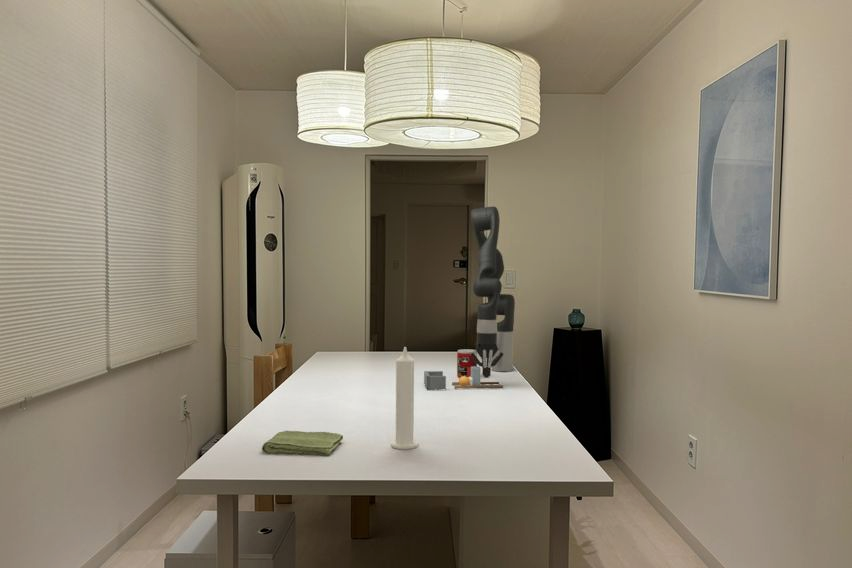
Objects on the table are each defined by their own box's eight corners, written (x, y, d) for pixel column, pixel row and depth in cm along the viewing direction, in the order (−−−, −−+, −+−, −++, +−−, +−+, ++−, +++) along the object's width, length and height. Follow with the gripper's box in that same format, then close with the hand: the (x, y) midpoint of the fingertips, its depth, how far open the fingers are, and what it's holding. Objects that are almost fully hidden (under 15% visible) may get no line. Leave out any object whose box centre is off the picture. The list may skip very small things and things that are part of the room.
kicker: (468, 384, 228) (468, 366, 228) (478, 384, 228) (478, 366, 228) (470, 387, 223) (470, 368, 223) (480, 387, 223) (480, 368, 223)
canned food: (453, 376, 246) (454, 349, 246) (470, 375, 250) (471, 348, 249) (462, 379, 239) (463, 352, 239) (480, 378, 243) (480, 351, 242)
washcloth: (332, 458, 142) (332, 445, 142) (259, 455, 144) (259, 442, 144) (344, 442, 155) (344, 429, 155) (277, 440, 157) (277, 427, 157)
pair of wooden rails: (452, 384, 229) (452, 382, 229) (498, 384, 230) (498, 381, 230) (454, 389, 221) (454, 386, 221) (503, 388, 222) (503, 386, 222)
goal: (424, 384, 230) (424, 371, 229) (442, 384, 230) (442, 371, 230) (426, 390, 219) (426, 376, 218) (445, 390, 219) (445, 376, 219)
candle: (403, 439, 156) (404, 344, 156) (424, 445, 152) (425, 346, 151) (384, 445, 151) (385, 346, 150) (405, 451, 146) (406, 349, 146)
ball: (458, 385, 227) (458, 375, 227) (468, 385, 227) (468, 375, 227) (459, 387, 223) (459, 377, 223) (470, 387, 223) (470, 377, 223)
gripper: (501, 330, 230) (501, 375, 230) (467, 330, 228) (467, 375, 229) (506, 332, 222) (505, 379, 223) (471, 332, 221) (470, 379, 221)
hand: (486, 377), depth 226 cm, fingers closed
